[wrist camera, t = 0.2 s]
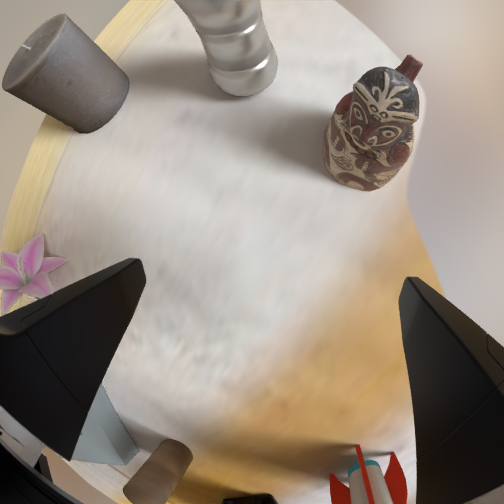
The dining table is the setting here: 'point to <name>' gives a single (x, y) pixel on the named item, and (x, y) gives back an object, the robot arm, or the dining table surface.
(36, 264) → the lily
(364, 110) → the figurine
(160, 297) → the dining table surface
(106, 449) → the socket block
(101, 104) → the pillar candle
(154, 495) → the walnut peg
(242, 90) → the plastic bottle
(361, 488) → the toy rocket
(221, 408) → the dining table surface
